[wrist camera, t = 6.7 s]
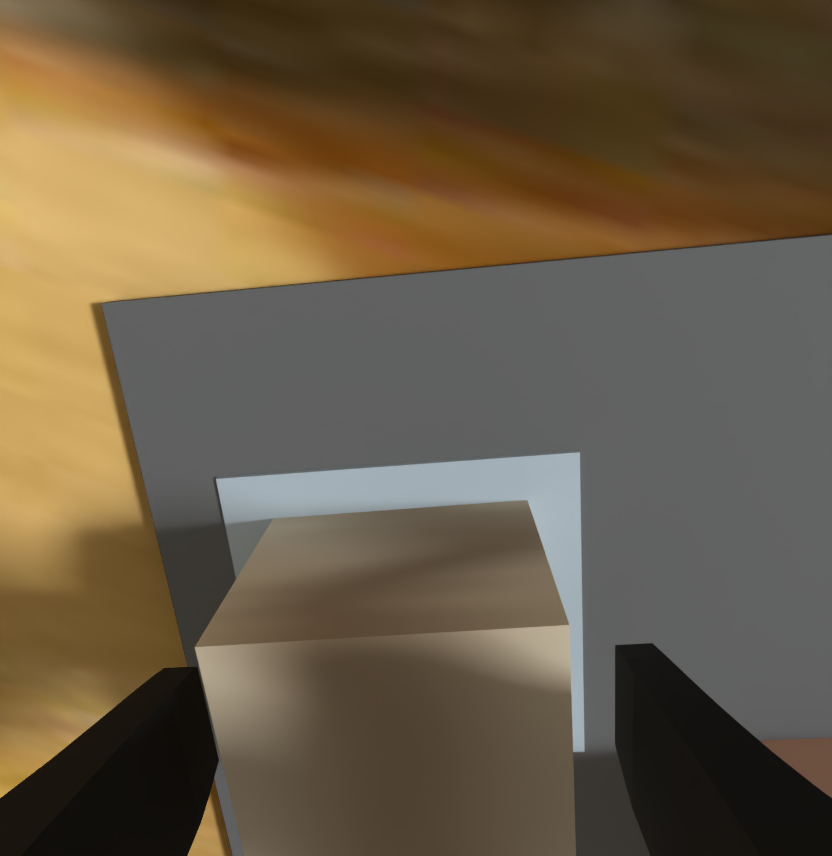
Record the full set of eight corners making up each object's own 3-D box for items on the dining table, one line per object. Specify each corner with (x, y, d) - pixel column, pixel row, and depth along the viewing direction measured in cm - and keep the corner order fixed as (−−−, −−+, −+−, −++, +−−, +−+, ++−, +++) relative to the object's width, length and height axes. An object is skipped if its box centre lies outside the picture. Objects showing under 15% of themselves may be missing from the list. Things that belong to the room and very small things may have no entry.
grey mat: (1270, 192, 10) (1310, 190, 10) (1063, 896, 15) (1085, 919, 14) (112, 301, 11) (98, 304, 11) (255, 917, 16) (250, 938, 15)
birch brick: (527, 500, 12) (569, 625, 8) (537, 712, 13) (577, 906, 9) (273, 518, 12) (195, 647, 8) (310, 724, 13) (258, 915, 10)
